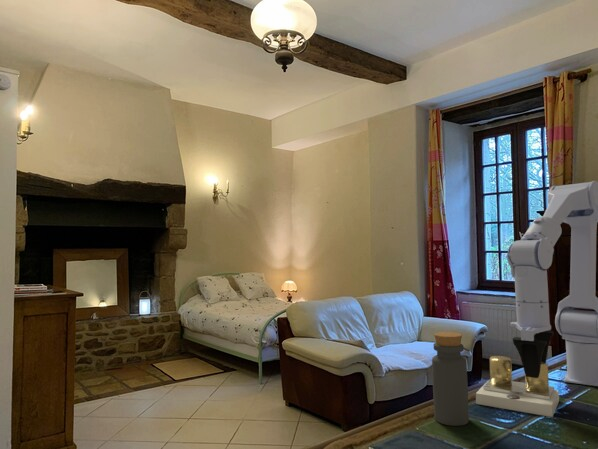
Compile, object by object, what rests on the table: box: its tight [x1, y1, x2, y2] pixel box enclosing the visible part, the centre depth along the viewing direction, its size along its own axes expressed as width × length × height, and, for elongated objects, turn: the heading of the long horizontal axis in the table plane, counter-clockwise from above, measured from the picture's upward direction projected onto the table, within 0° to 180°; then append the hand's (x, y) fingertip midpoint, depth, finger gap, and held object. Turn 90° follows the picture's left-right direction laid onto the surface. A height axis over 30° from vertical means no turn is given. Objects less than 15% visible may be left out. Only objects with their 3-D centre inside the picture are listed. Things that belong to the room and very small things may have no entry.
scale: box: [475, 379, 560, 418], centre depth 88 cm, size 10×13×2 cm
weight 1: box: [489, 355, 513, 387], centre depth 91 cm, size 4×4×5 cm
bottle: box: [431, 331, 470, 427], centre depth 80 cm, size 6×6×15 cm
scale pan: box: [482, 379, 555, 400], centre depth 89 cm, size 7×12×1 cm, turn 54°
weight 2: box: [524, 362, 550, 393], centre depth 87 cm, size 4×4×5 cm
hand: (535, 372), depth 87 cm, fingers open, 7 cm apart
